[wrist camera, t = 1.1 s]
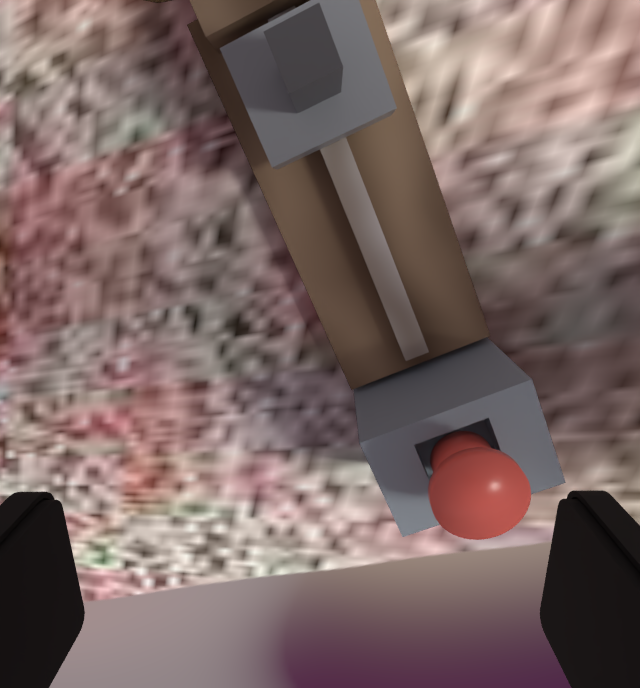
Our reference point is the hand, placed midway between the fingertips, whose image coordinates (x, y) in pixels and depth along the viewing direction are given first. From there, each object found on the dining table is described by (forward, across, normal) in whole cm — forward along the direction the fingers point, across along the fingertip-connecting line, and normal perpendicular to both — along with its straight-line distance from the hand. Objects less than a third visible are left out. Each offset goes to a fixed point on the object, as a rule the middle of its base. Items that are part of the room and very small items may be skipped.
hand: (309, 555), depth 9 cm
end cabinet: (+24, -8, +8) cm, 27 cm away
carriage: (+22, 0, -12) cm, 25 cm away
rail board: (+24, -2, -6) cm, 25 cm away
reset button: (+17, -8, +8) cm, 20 cm away
